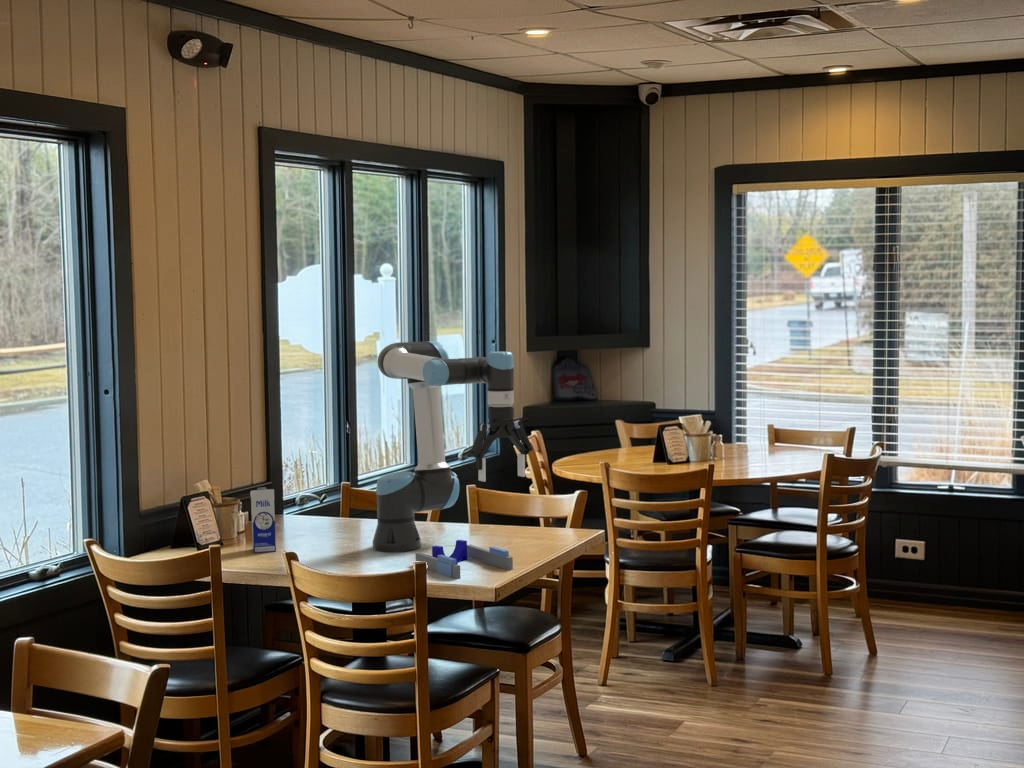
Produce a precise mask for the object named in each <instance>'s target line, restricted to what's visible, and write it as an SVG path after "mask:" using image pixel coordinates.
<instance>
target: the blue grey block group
mask: <svg viewBox="0 0 1024 768" xmlns="http://www.w3.org/2000/svg"><path fill="white" fill-rule="evenodd" d="M509 554H510V551H509V550H506V549H503V548H500V547H496V546H489V547H488V549H486V548H483V547H479V546H478V545H477V546H476V545H472V544H467V558H470V559H472V560H476V561H479V562H482V563H485V564H488V565H491V566H494V567H496V568H497V567H498V568H500V569H505V570H507V571H510V570H514V569H513V568H514V567H513V566H514V565H513V564H514V563H513V562H514V561H513V557H512V556H509ZM416 561H425V562H427V565H428V569H427V570H429V569H430V571H432V570H433V571H432V572H436V573H437V574H439V575H442V576H445V577H448V578H453V579H454V580H456V578H458V579H461V565H460V564H456V559H454V558H451V557H449V556H447V555H446V554H445V555H437V558H436V557H433V556H432V555H429V554H426V553H423V552H415V562H416Z"/></svg>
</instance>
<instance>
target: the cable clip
mask: <svg viewBox="0 0 1024 768" xmlns="http://www.w3.org/2000/svg"><path fill="white" fill-rule="evenodd" d="M467 545H468V540H464V539H456V540H455V546H454V550H453V551H452V553H451V554H450V555H449V556H448V557H451V558H454V559H456V564H457V565H459V564H458V563H461V562H465V561H468V557H467ZM437 555H445V556H446V554H445V551H444V546H441V545H432V546H431V556H433V557H436V558H437Z"/></svg>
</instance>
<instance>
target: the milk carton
mask: <svg viewBox="0 0 1024 768" xmlns="http://www.w3.org/2000/svg"><path fill="white" fill-rule="evenodd" d="M249 494H250V508H251V509H250V510H251V511H250V512H251V513H250V514H251V538H252V540H251V541H252V551H253V554H259V553H260V554H261V553H275V552H277V546H276V545H277V543H276V541H277V540H276V515H275V489H274V488H270V489H267V487H266V486H262V487H257V488H256V489H253V490H250V493H249Z"/></svg>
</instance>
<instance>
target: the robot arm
mask: <svg viewBox="0 0 1024 768" xmlns="http://www.w3.org/2000/svg"><path fill="white" fill-rule="evenodd" d="M377 367H378V370H379V371H380V372H381V374H382V375H383V376H385V377H387V378H390V379H397V380H404V379H405V380H407V381H406V383H407V386H408V387H409V388H411V389H412V394H413V395H412V397H413V409H414V420H415V422H414V423H415V433H416V434H415V435H416V436H415V437H416V446H417V448H416V449H417V459H418V463H417V466H416V467H415V468H414V473H413V472H412V471H409V470H408V471H407V470H406V471H405V470H404V471H396V472H395V471H394V472H391V473H387V474H384V475H382V476H380V477H379V478H378V479H377V481H376V489H375V490H376V491H375V493H376V506H377V507H376V508H377V509H376V510H377V511H376V513H377V516H376V517H377V525H376V528H375V532H374V534H373V535H374V536H373V539H372V549H373V550H374V551H377V552H378V551H379V552H385V553H386V552H387V553H388V552H389V553H390V552H391V553H397V552H408V551H413V550H417V549H420V548H421V547H422V543H421V541H422V540H421V537H420V534H419V531H418V528H417V526H416V522H415V513H419V512H427V511H428V512H429V511H436V510H437V511H440V510H441V511H442V510H444V509H448V508H451V507H453V506H454V505H455V504H456V501H458V498H459V493H460V481H459V478H458V475H457V474H456V472H454V471H452V469H451V466H450V464H449V463H448V462H446V452H445V443H444V441H445V439H444V429H443V415H442V404H441V403H442V402H441V401H442V400H441V391H440V387H441V386H450V385H467V384H468V385H469V384H471V385H472V384H487V404H488V405H489V406H488V407H487V418H488V423H482V422H481V423H479V424H478V431H477V434H476V436H475V439H474V441H473V444H472V446H471V450H470V452H469V456H470V457H473V458H475V468H476V470H478V473H477V474H478V475H477V476H478V478H477V479H478V481H479V482H482V483H483V482H487V481H486V480H487V479H486V478H487V477H486V476H487V475H486V474H487V473H486V470H487V469H486V467H487V466H486V462H487V461H486V458H484V457H485V455H486V454H487V452H488V450H489V449H490V447H491V445H492V444H493V442H494V441H496V440H497V439H502V438H508V439H509V440H510V441H511V443H512V445H513V446H514V447H515V448H516V450H517V451H518V452H519V453H517V454H516V455H517V477H521V478H525V477H526V465H527V464H528V455H529V454H530V452H532V451H533V446H532V444H531V441H530V439H529V437H528V435H527V433H526V430H525V426H524V421H523V420H518V419H516V420H515V421H514V418H515V407H514V406H513V404H514V401H515V398H514V397H515V396H514V395H515V392H514V391H515V390H514V386H515V385H514V384H515V382H514V381H515V380H514V375H515V372H514V371H515V369H514V368H515V363H514V355H513V352H511V351H490V352H488V353H487V356H486V357H484V356H481V355H479V356H472V357H463V358H462V357H461V358H450V357H449V355H448V352H447V350H446V348H445V347H444V345H443V344H441V343H440V342H438V341H432V340H431V341H429V340H423V341H407V342H394V343H390V344H388V345H386V346H385V347H384V348H383V349H382V350H381V351H380V352H379V354H378V357H377ZM514 428H515V430H516V432H517V433H515V431H514V430H513V429H514ZM487 432H488V433H487ZM517 435H518V437H517Z"/></svg>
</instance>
